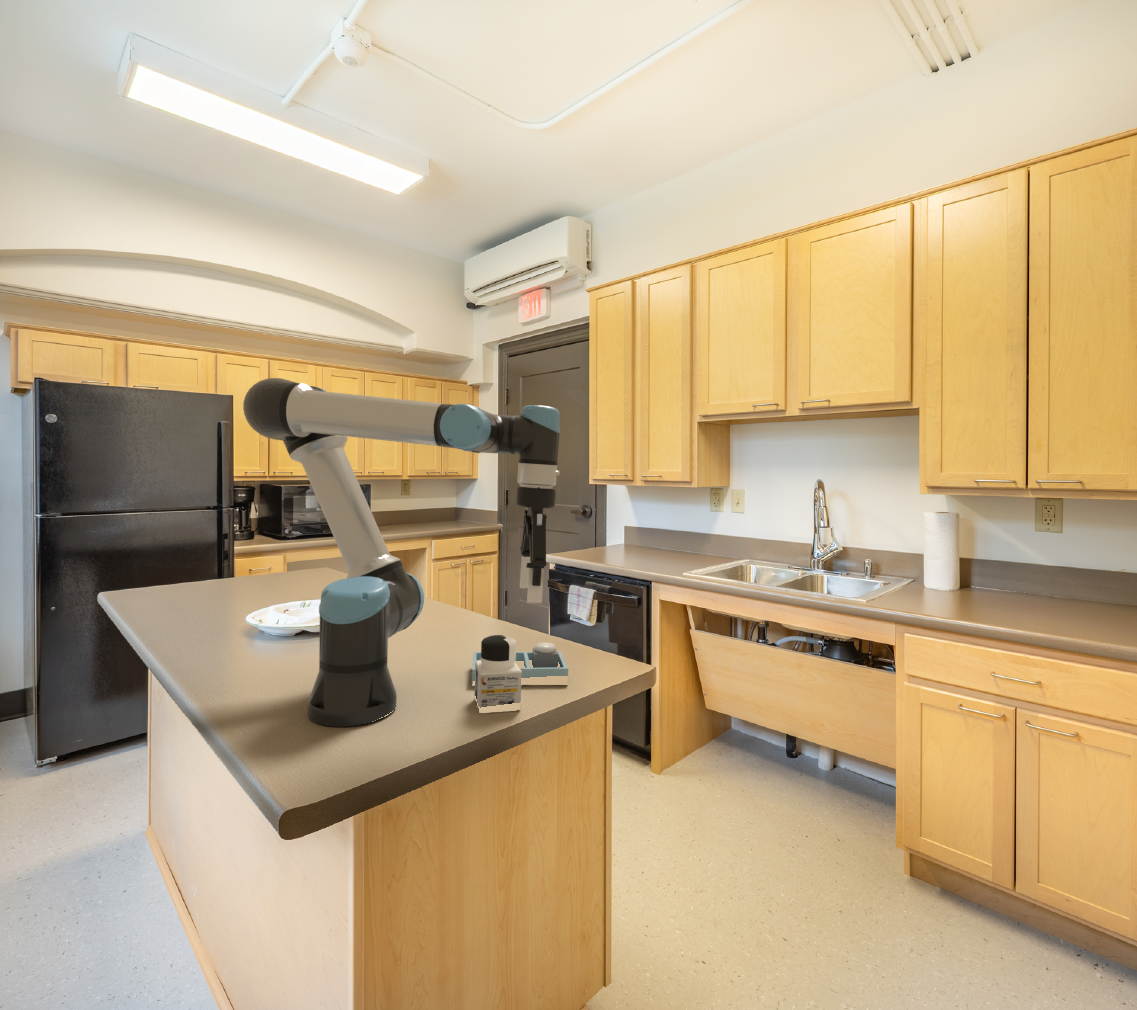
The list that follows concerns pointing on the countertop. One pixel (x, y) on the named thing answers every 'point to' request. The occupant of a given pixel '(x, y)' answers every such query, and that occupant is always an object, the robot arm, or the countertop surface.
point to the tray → (536, 661)
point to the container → (497, 672)
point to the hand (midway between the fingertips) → (530, 595)
